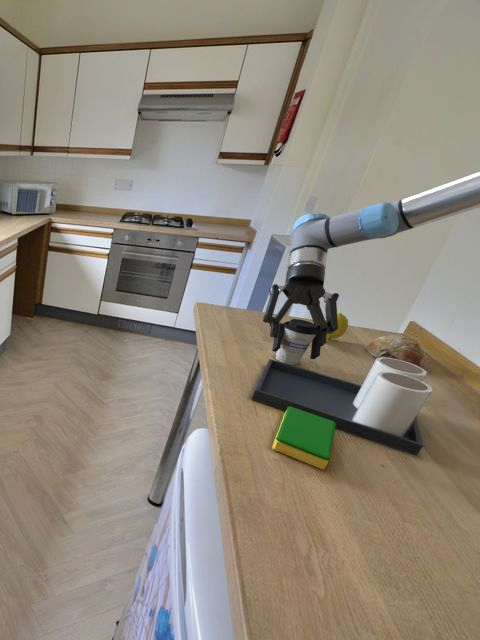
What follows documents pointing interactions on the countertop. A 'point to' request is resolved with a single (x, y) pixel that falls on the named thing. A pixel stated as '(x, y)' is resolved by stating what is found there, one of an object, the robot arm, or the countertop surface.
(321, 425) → the dish sponge
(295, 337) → the coffee cup
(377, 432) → the cup tray
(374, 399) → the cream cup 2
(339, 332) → the lemon
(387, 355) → the bread roll
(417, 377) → the cream cup
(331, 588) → the countertop surface
